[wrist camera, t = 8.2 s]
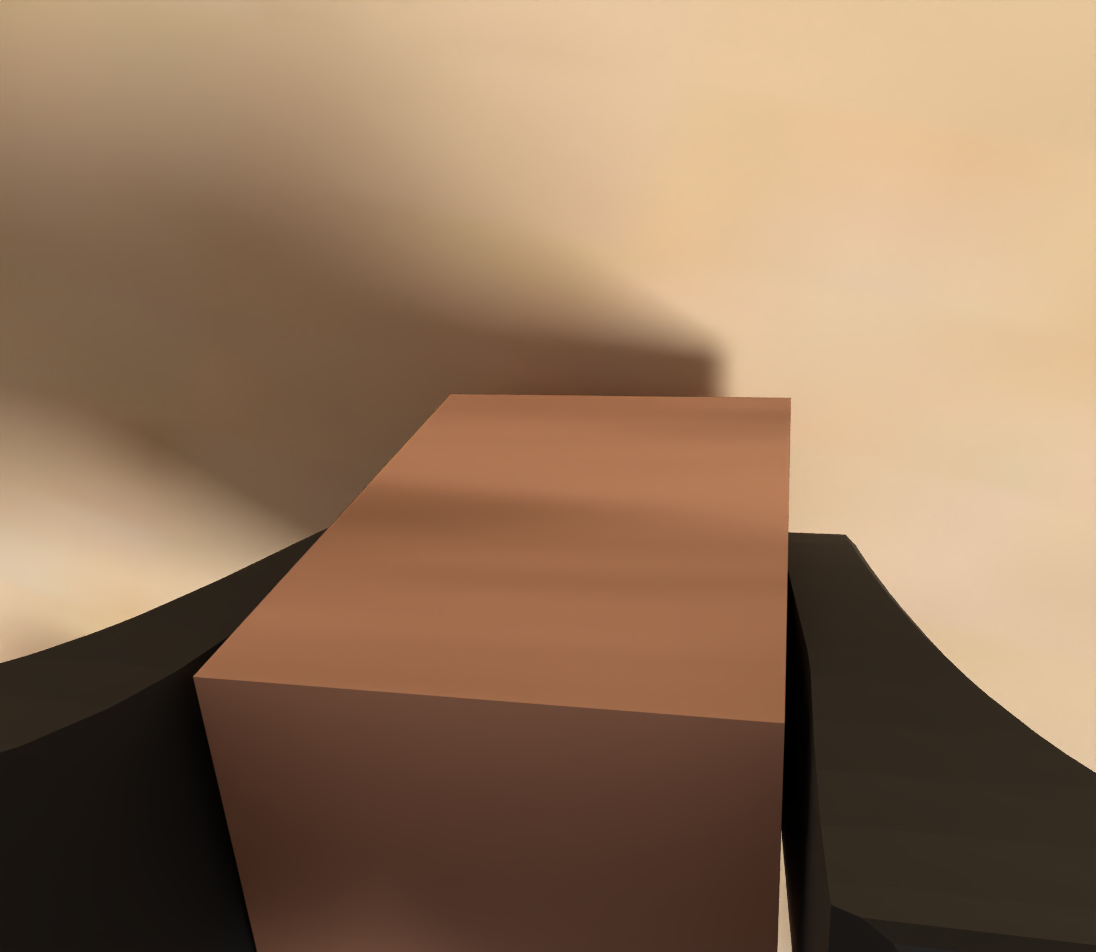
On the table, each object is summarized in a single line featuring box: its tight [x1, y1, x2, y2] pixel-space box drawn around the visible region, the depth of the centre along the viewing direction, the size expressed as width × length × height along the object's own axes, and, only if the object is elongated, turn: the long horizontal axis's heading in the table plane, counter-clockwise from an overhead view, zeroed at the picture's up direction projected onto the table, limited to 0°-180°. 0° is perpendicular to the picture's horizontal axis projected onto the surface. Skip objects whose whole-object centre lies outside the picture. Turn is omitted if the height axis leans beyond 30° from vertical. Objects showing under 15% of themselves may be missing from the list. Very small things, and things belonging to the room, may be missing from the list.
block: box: [193, 394, 791, 952], centre depth 10 cm, size 4×4×6 cm
